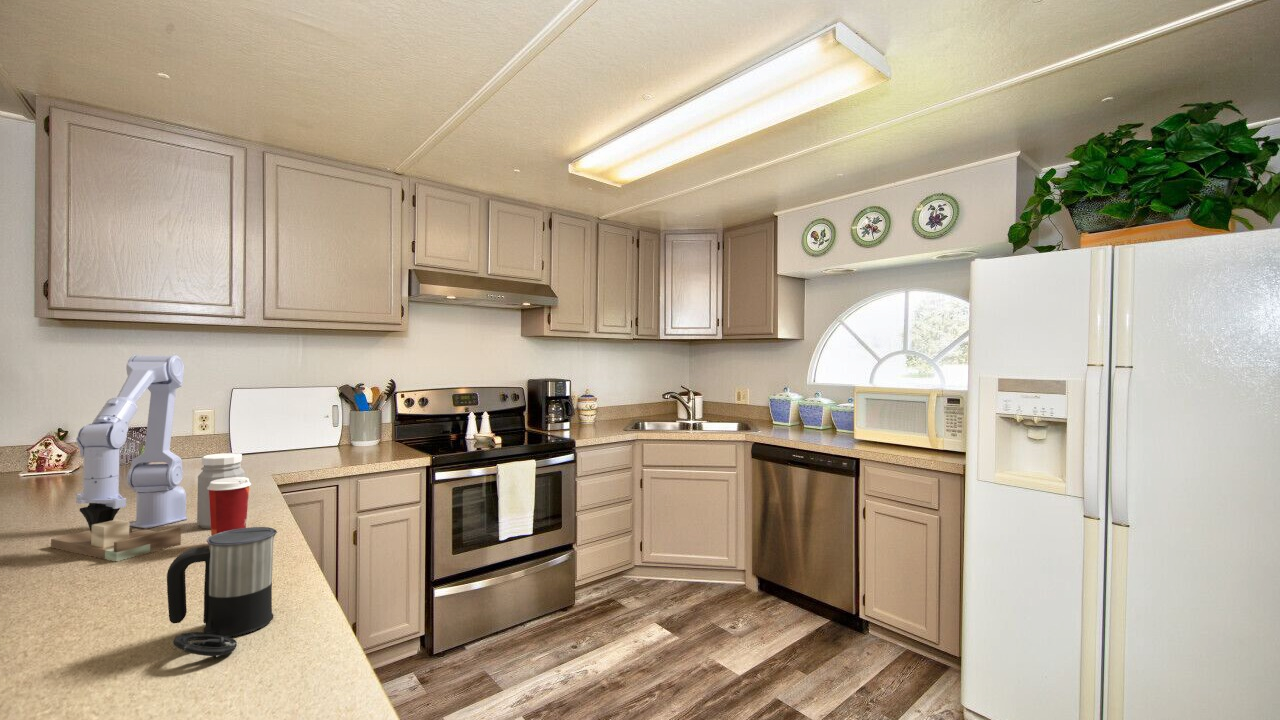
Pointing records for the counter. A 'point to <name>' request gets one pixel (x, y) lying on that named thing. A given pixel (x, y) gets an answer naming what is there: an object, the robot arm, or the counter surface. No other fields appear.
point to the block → (109, 533)
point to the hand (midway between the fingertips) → (100, 537)
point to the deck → (120, 543)
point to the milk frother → (225, 589)
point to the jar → (213, 470)
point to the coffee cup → (228, 503)
